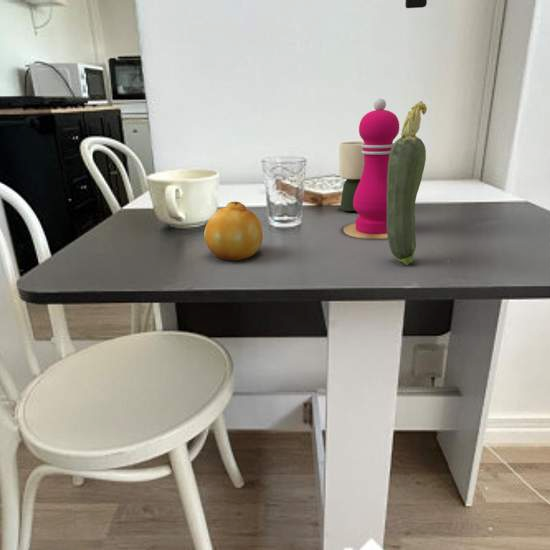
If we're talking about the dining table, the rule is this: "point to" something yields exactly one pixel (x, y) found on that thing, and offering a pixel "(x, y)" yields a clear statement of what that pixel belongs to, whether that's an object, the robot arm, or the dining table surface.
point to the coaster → (353, 232)
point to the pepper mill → (375, 168)
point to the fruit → (233, 232)
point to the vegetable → (405, 186)
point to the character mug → (350, 171)
